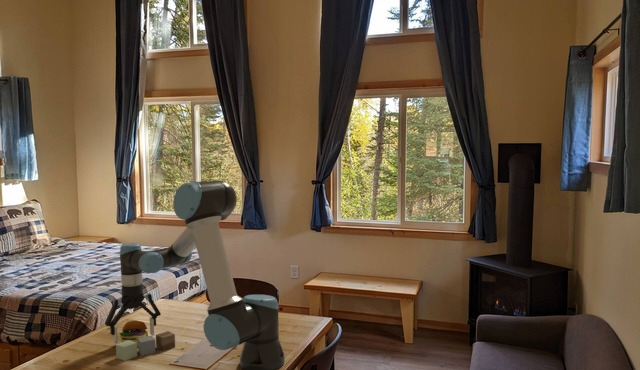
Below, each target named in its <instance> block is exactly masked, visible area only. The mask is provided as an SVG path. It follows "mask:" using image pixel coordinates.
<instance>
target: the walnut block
mask: <svg viewBox="0 0 640 370" xmlns="http://www.w3.org/2000/svg"><path fill="white" fill-rule="evenodd" d="M156 348H157V349H159V350H160V351H162V352H163V351H167V350H171V349H173V348H176V334H175V333H174V332H171V331H168V330H167V331H164V332H161V333H157V334H155V349H156Z"/></svg>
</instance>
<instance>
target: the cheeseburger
mask: <svg viewBox="0 0 640 370" xmlns="http://www.w3.org/2000/svg"><path fill="white" fill-rule="evenodd" d="M147 329H148V326H147V324H146V323H145V322H144V321H139V320H130V321H126V323H125V324H124V325H123V326H122V329H121V332H120V333H119V338H120V339H121V340H120V341H121V342H124V341H127V340H130V341H133V342H137V348H138V338H142V337H146V336H149V334H148V331H147Z"/></svg>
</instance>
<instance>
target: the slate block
mask: <svg viewBox="0 0 640 370" xmlns="http://www.w3.org/2000/svg"><path fill="white" fill-rule="evenodd" d="M153 336H154V335H153ZM153 336H152V335H151V334H150V335H148V336H146V337H142V338H138V347H137V353H139V355H140V356H147V355H151V354H155V353H156V338H154V337H153Z"/></svg>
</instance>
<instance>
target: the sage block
mask: <svg viewBox="0 0 640 370" xmlns="http://www.w3.org/2000/svg"><path fill="white" fill-rule="evenodd" d="M115 351H116V352H115V354H116V359H119V360H121V361H124V362H126V361H128V360H131V359H134V358H136V357H138V347H137V342H133V341H130V340H127V341H124V342H122V341H121V342H118V344H115Z"/></svg>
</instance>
